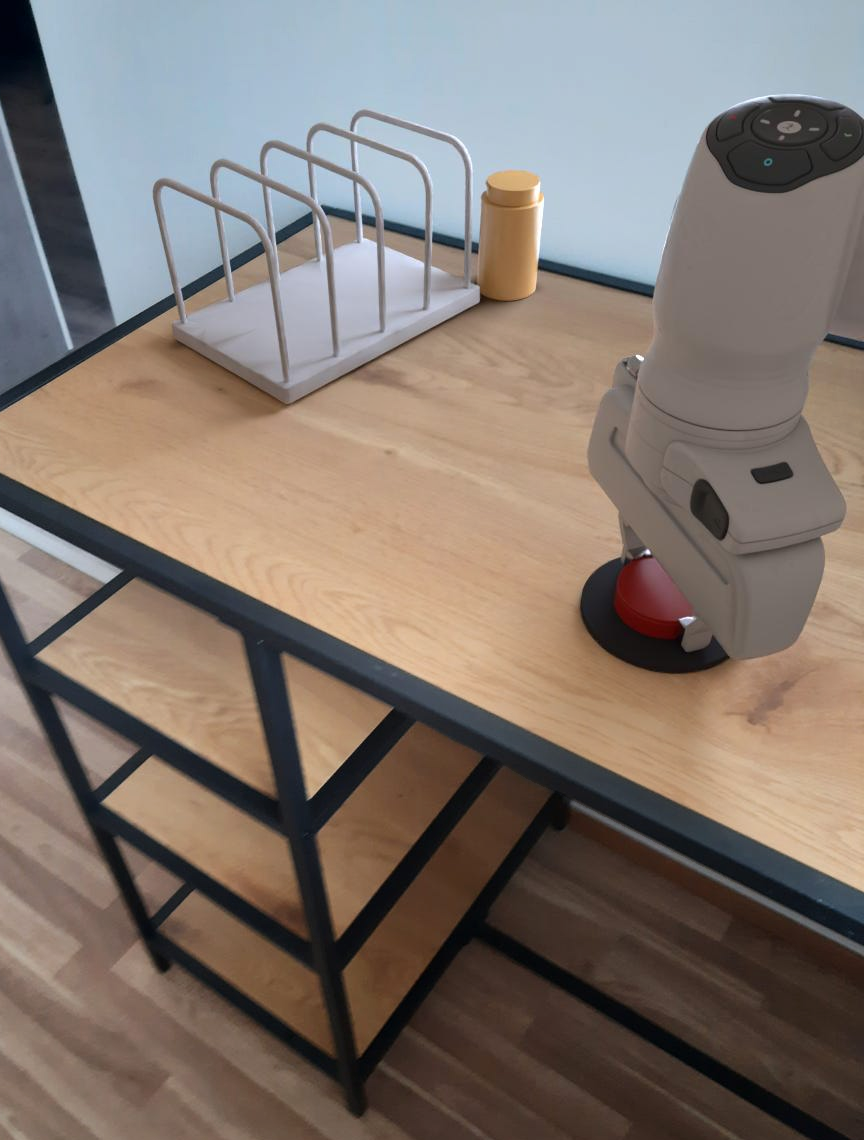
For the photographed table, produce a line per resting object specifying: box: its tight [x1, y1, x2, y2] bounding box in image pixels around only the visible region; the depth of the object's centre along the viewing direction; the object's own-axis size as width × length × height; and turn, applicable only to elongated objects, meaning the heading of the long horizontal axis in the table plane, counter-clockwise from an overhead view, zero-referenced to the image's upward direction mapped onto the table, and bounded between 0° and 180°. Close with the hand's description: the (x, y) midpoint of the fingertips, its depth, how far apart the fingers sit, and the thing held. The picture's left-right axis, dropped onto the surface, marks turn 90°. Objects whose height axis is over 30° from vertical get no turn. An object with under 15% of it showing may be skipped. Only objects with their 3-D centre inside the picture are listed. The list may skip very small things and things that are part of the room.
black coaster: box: [579, 556, 731, 674], centre depth 63 cm, size 11×11×1 cm
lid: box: [614, 556, 693, 639], centre depth 62 cm, size 6×6×2 cm
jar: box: [476, 169, 545, 302], centre depth 92 cm, size 6×6×10 cm
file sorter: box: [152, 108, 481, 405], centre depth 86 cm, size 25×17×16 cm
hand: (662, 604), depth 63 cm, fingers closed on lid, 6 cm apart
